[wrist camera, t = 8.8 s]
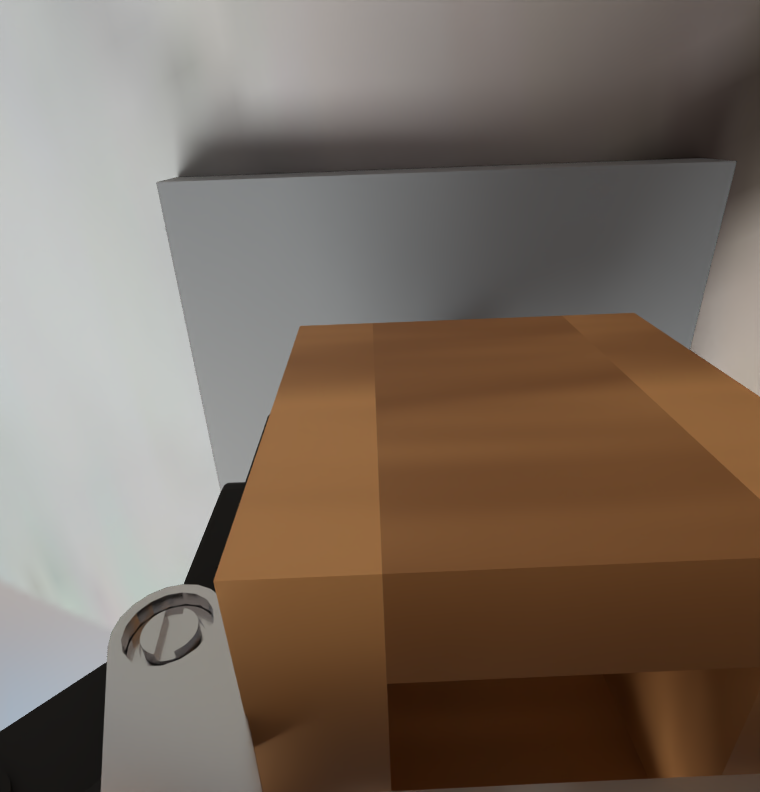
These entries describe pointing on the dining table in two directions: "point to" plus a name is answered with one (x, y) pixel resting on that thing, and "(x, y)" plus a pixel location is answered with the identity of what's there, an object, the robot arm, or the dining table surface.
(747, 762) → the cube
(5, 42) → the dining table surface
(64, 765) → the robot arm
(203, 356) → the rod stand
